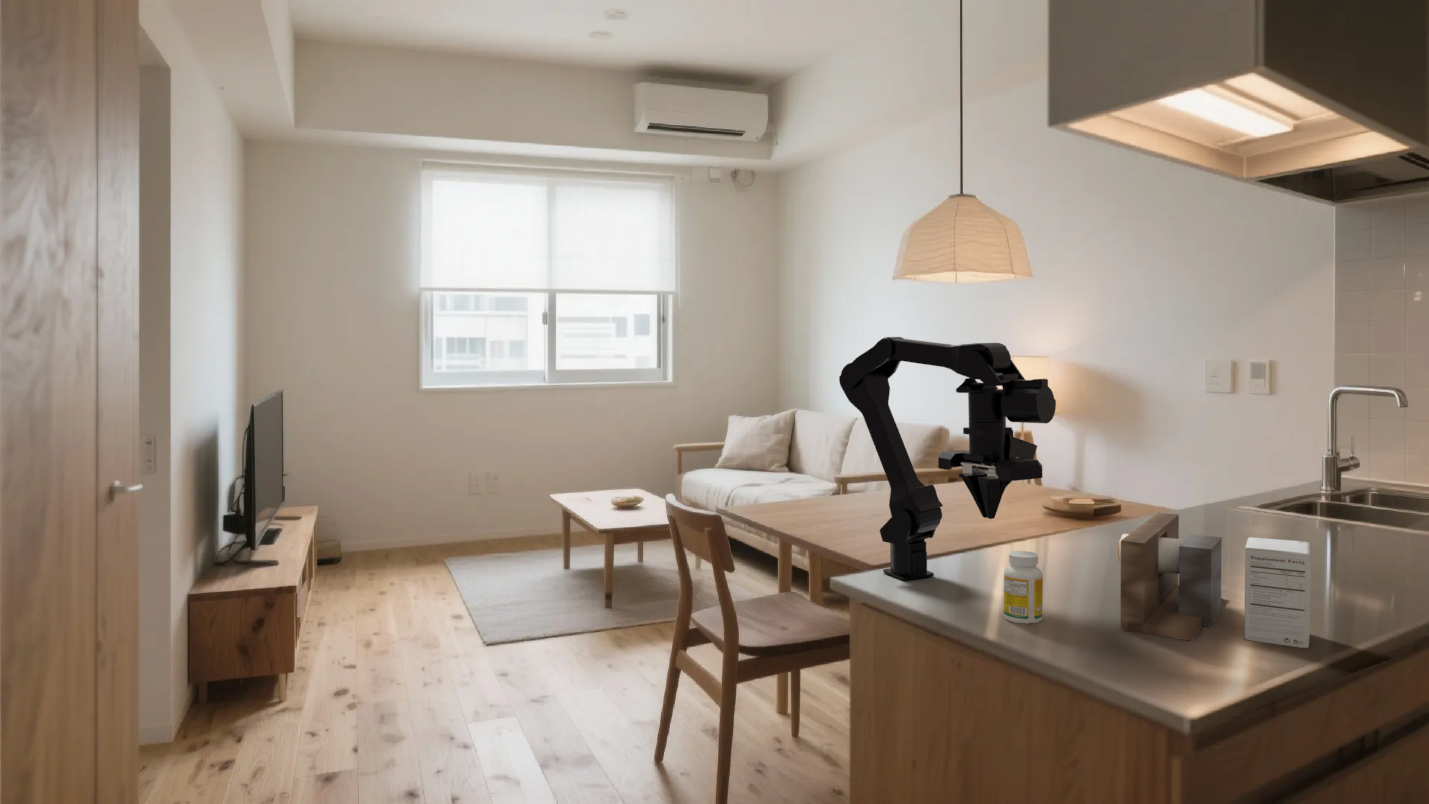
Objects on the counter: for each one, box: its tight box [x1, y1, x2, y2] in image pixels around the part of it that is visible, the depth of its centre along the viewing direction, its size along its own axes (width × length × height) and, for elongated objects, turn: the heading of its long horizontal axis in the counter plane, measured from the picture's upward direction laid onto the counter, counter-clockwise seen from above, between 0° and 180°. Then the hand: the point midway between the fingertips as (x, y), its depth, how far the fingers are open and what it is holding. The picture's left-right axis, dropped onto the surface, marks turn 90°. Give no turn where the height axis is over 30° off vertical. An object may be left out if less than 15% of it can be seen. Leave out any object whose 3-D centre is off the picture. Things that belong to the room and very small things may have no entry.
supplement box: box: [1244, 536, 1311, 649], centre depth 121 cm, size 7×7×13 cm
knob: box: [1117, 533, 1185, 575], centre depth 134 cm, size 8×5×5 cm, turn 53°
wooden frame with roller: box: [1120, 512, 1223, 642], centre depth 132 cm, size 10×24×12 cm, turn 143°
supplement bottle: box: [1003, 550, 1044, 625], centre depth 131 cm, size 5×5×10 cm
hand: (988, 518), depth 145 cm, fingers closed
